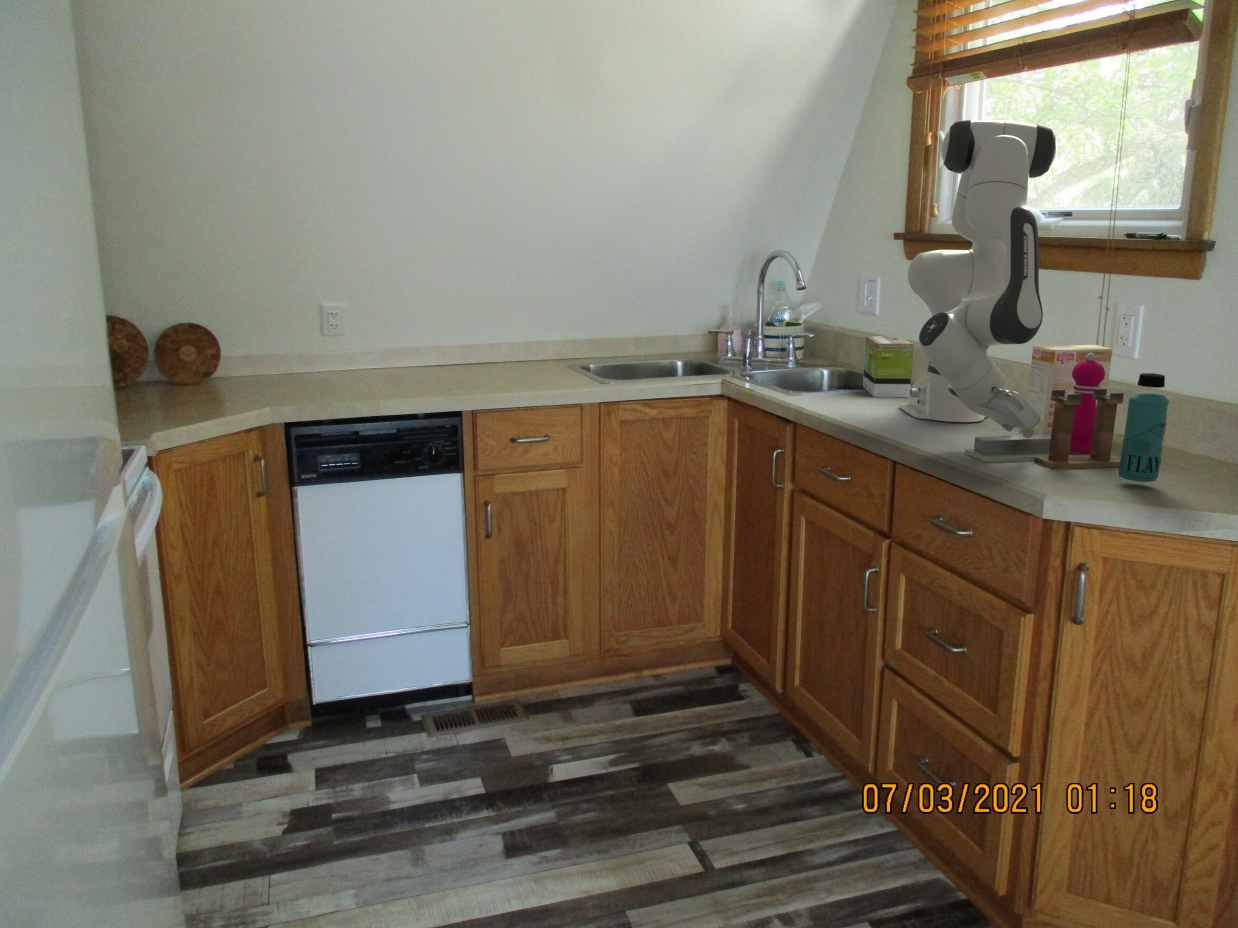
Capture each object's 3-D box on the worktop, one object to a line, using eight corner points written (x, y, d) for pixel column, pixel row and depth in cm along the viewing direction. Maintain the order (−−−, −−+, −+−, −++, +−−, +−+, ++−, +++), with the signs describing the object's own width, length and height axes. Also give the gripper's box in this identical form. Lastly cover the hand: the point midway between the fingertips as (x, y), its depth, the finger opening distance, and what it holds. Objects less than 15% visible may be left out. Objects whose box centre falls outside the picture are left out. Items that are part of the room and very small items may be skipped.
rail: (973, 451, 194) (975, 436, 194) (1045, 449, 198) (1047, 434, 197) (983, 455, 191) (984, 440, 190) (1056, 453, 194) (1058, 438, 194)
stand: (1034, 461, 190) (1042, 389, 187) (1102, 459, 193) (1112, 388, 190) (1053, 469, 184) (1062, 395, 181) (1123, 466, 187) (1133, 393, 184)
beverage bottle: (1117, 488, 172) (1133, 375, 167) (1114, 479, 178) (1129, 370, 173) (1159, 492, 169) (1177, 377, 164) (1154, 483, 175) (1170, 372, 171)
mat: (964, 453, 197) (965, 449, 197) (1040, 450, 200) (1041, 446, 200) (986, 462, 189) (987, 458, 189) (1065, 459, 192) (1065, 455, 192)
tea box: (861, 388, 274) (864, 335, 271) (897, 389, 274) (901, 336, 270) (872, 397, 260) (876, 341, 256) (910, 398, 259) (915, 342, 256)
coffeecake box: (1081, 430, 220) (1092, 344, 215) (1102, 437, 213) (1114, 348, 209) (1021, 433, 217) (1031, 345, 212) (1041, 439, 210) (1052, 349, 206)
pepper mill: (1087, 446, 204) (1099, 350, 200) (1105, 454, 197) (1118, 355, 192) (1053, 446, 204) (1064, 350, 199) (1069, 454, 197) (1082, 355, 192)
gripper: (1023, 380, 179) (1064, 431, 184) (964, 365, 199) (1002, 411, 203) (998, 405, 180) (1040, 455, 184) (941, 387, 199) (980, 432, 203)
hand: (1020, 432), depth 194 cm, fingers open, 5 cm apart
